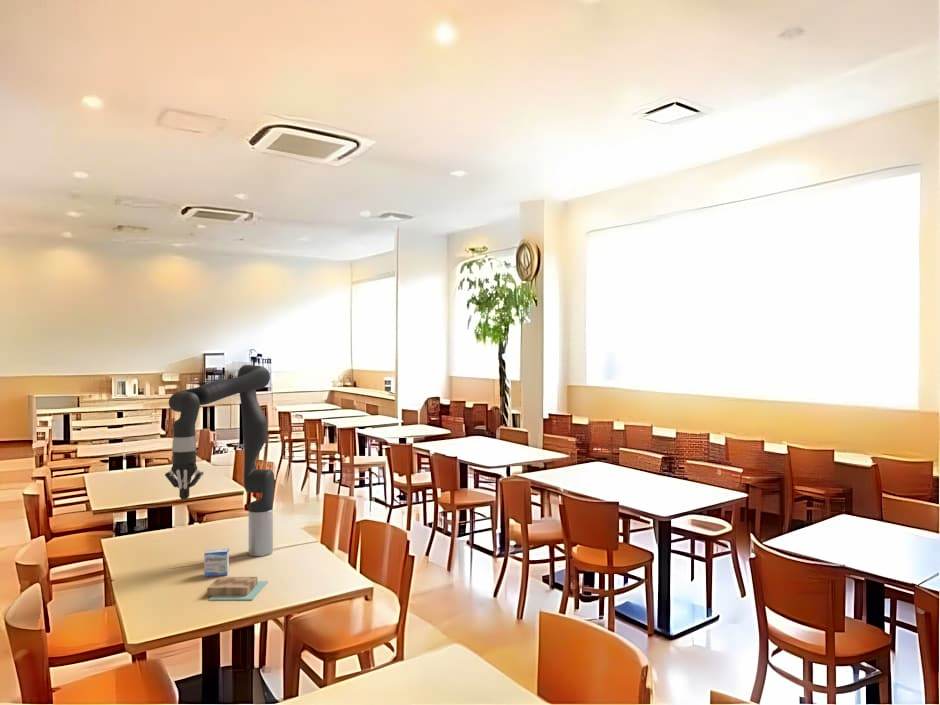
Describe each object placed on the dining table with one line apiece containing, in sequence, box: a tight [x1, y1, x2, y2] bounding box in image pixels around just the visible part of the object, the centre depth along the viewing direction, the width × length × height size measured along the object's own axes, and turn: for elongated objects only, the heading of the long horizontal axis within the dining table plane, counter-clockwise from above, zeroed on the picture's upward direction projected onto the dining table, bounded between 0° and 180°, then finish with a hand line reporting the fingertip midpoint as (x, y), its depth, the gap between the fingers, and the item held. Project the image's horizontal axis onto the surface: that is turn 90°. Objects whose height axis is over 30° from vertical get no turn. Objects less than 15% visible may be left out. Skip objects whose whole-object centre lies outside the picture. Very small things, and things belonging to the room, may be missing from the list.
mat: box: [208, 580, 269, 602], centre depth 211 cm, size 16×14×1 cm
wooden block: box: [206, 576, 258, 597], centre depth 211 cm, size 10×3×13 cm
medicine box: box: [203, 548, 230, 578], centre depth 227 cm, size 8×4×9 cm, turn 105°
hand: (184, 499), depth 219 cm, fingers closed
